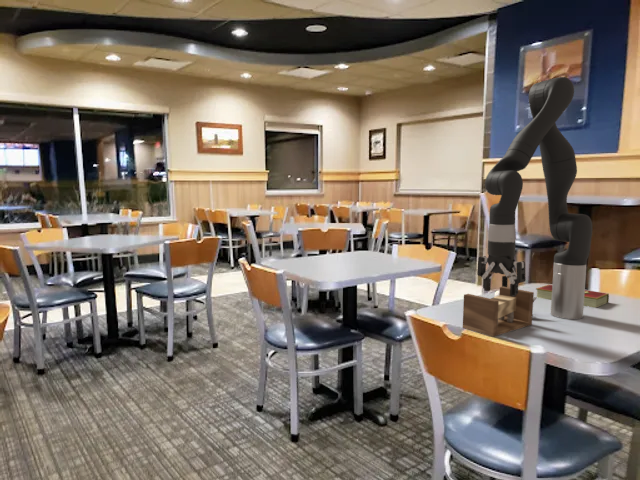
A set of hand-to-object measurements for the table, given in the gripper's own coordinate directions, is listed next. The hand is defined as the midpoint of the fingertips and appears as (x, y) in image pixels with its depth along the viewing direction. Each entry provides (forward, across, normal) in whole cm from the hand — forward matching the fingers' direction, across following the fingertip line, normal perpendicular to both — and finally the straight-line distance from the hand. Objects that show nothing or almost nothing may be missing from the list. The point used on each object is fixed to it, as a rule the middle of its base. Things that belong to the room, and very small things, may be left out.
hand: (499, 293), depth 132 cm
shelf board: (+6, 0, -1) cm, 6 cm away
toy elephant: (+11, -3, +17) cm, 20 cm away
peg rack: (+10, 0, 0) cm, 10 cm away
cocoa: (+10, -10, +18) cm, 23 cm away
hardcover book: (+12, -4, +52) cm, 53 cm away
